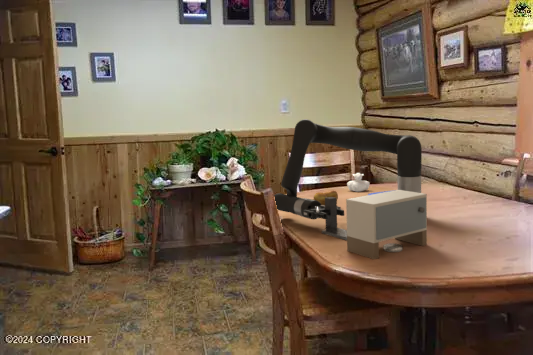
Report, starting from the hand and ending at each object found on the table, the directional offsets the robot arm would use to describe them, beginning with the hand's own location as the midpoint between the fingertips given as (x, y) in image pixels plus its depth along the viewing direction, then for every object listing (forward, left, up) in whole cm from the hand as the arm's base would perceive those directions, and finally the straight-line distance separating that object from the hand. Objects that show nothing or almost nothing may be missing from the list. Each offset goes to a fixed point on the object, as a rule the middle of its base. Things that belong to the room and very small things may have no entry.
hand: (335, 214), depth 186 cm
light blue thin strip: (-41, -62, -8) cm, 75 cm away
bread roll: (-4, -50, -7) cm, 50 cm away
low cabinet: (-13, +22, -7) cm, 26 cm away
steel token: (-14, +24, -7) cm, 29 cm away
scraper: (-3, +5, -7) cm, 10 cm away
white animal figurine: (-29, -85, -7) cm, 90 cm away
